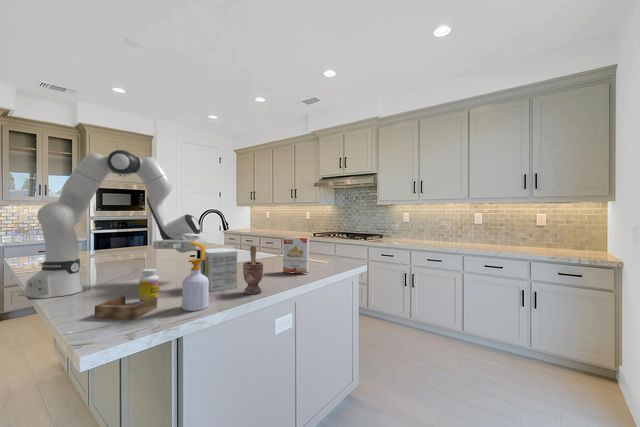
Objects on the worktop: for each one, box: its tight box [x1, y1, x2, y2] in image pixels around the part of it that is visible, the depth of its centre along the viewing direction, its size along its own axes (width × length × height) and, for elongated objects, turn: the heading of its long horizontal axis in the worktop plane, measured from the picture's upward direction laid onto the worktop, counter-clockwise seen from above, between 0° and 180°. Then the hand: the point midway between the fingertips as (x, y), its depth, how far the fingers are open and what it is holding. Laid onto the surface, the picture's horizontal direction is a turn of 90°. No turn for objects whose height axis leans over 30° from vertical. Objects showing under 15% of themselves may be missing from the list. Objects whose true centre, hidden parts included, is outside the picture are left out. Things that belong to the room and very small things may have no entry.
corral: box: [94, 295, 158, 321], centre depth 110 cm, size 14×12×4 cm
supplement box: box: [199, 247, 238, 293], centre depth 147 cm, size 13×13×18 cm
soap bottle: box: [181, 242, 210, 312], centre depth 116 cm, size 9×9×25 cm
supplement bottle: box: [139, 268, 160, 303], centre depth 122 cm, size 7×7×13 cm
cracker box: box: [282, 236, 310, 274], centre depth 180 cm, size 14×6×21 cm, turn 81°
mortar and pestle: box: [242, 245, 264, 295], centre depth 139 cm, size 12×9×20 cm
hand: (167, 246), depth 134 cm, fingers open, 3 cm apart
